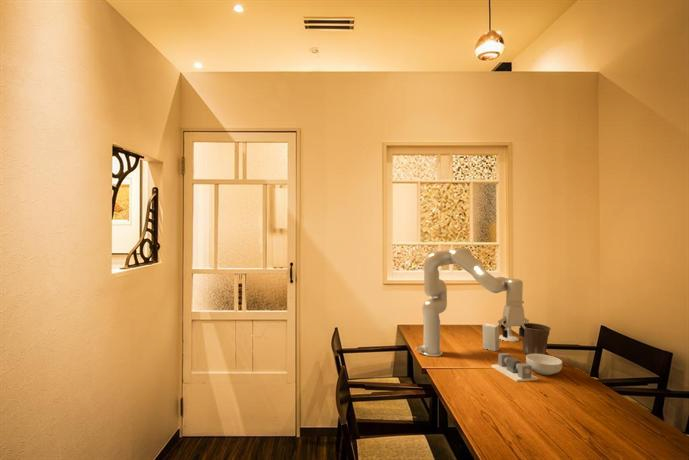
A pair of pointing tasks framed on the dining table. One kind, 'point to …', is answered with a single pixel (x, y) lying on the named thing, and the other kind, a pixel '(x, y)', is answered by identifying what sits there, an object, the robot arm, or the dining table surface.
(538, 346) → the plant pot
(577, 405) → the dining table surface
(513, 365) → the joint block
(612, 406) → the dining table surface
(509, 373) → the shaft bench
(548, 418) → the dining table surface
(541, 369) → the cereal bowl
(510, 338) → the candlestick
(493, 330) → the skincare box
